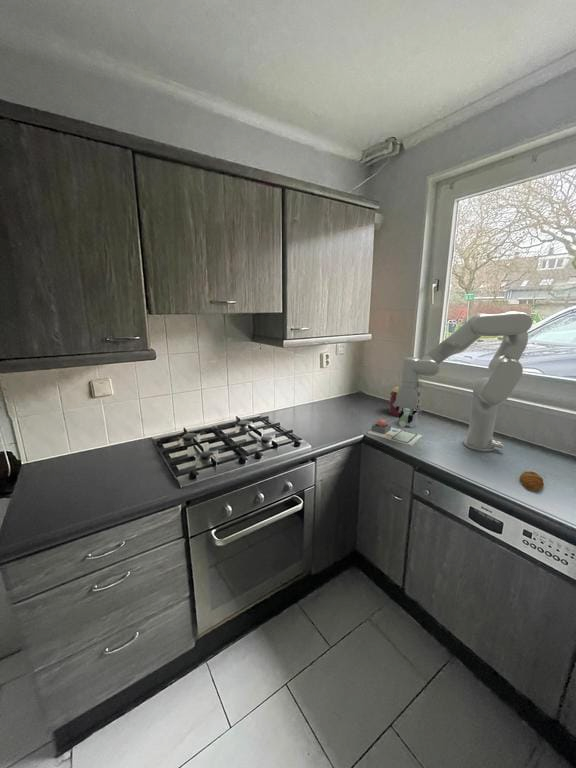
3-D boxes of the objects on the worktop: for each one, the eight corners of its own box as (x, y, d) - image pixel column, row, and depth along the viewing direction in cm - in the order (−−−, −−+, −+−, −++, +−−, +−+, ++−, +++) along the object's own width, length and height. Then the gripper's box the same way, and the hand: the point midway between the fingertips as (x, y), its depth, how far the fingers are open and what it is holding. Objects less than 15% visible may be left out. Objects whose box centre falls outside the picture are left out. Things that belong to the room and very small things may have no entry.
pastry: (545, 495, 108) (547, 485, 107) (521, 490, 111) (523, 480, 110) (540, 482, 116) (542, 472, 115) (518, 477, 119) (520, 468, 118)
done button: (387, 426, 160) (387, 420, 159) (383, 428, 157) (384, 422, 156) (379, 423, 163) (379, 418, 162) (375, 426, 160) (375, 420, 159)
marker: (413, 417, 154) (413, 411, 152) (405, 428, 148) (405, 422, 146) (406, 415, 156) (406, 409, 154) (398, 426, 150) (398, 420, 148)
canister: (383, 411, 189) (386, 383, 185) (400, 408, 194) (402, 380, 190) (399, 418, 178) (402, 388, 173) (416, 415, 183) (419, 385, 178)
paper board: (422, 436, 154) (422, 429, 154) (411, 446, 144) (412, 439, 143) (379, 425, 168) (380, 419, 167) (367, 433, 158) (367, 427, 157)
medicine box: (416, 426, 167) (418, 411, 164) (410, 427, 165) (411, 412, 163) (406, 421, 174) (407, 406, 172) (399, 422, 172) (401, 407, 170)
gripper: (430, 385, 144) (425, 423, 149) (395, 379, 154) (391, 415, 159) (425, 389, 138) (420, 428, 143) (388, 382, 149) (385, 419, 153)
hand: (405, 421), depth 151 cm, fingers closed on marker, 3 cm apart
